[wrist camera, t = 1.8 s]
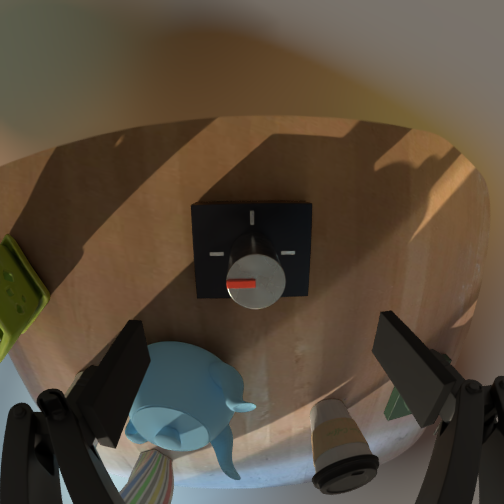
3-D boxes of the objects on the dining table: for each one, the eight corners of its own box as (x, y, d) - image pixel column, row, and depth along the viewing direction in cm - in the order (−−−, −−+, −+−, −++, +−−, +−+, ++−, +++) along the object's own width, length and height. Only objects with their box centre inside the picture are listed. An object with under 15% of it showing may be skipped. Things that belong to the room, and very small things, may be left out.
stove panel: (305, 200, 30) (312, 203, 27) (302, 285, 33) (308, 296, 30) (195, 202, 30) (190, 205, 27) (200, 287, 32) (196, 299, 29)
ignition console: (445, 353, 38) (457, 365, 34) (425, 401, 41) (433, 413, 37) (402, 364, 37) (412, 379, 33) (383, 412, 41) (391, 427, 37)
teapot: (253, 332, 34) (258, 402, 22) (239, 423, 39) (239, 484, 27) (123, 315, 33) (82, 372, 21) (137, 408, 38) (117, 464, 26)
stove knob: (274, 231, 28) (287, 254, 20) (273, 273, 29) (285, 310, 21) (229, 232, 28) (224, 256, 20) (231, 274, 29) (227, 311, 21)
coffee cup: (351, 383, 38) (384, 456, 23) (355, 416, 40) (381, 481, 26) (292, 402, 38) (308, 481, 24) (304, 432, 41) (319, 501, 26)
